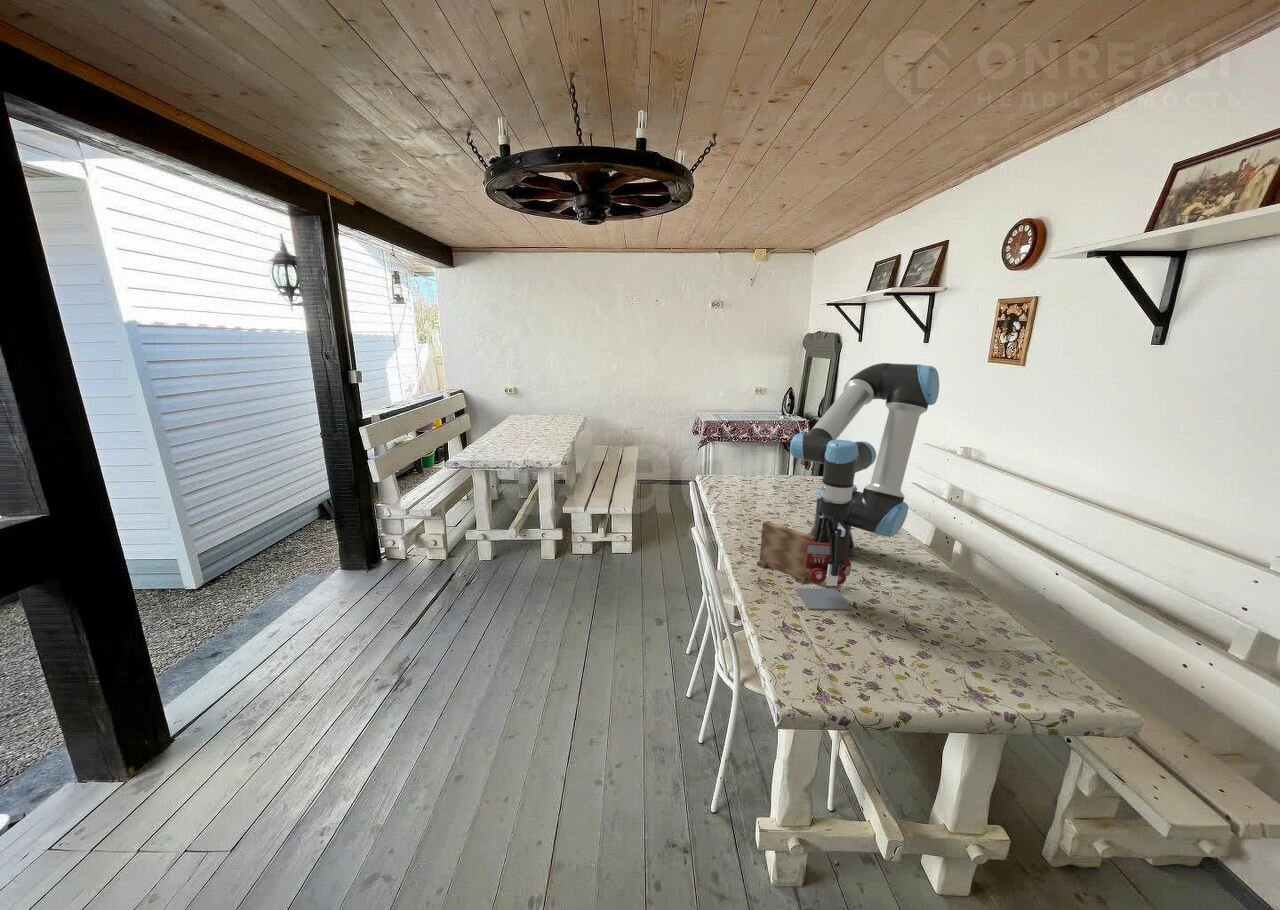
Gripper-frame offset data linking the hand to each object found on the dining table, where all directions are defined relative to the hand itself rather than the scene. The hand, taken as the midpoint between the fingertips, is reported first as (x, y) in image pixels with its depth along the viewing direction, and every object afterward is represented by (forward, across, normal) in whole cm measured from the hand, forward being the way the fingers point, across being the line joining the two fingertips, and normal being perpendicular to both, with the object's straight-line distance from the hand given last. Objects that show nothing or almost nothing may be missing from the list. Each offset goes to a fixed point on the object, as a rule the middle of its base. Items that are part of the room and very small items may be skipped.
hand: (825, 577), depth 128 cm
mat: (+7, 0, 0) cm, 7 cm away
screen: (+7, -16, -6) cm, 19 cm away
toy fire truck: (+1, 0, 0) cm, 1 cm away
